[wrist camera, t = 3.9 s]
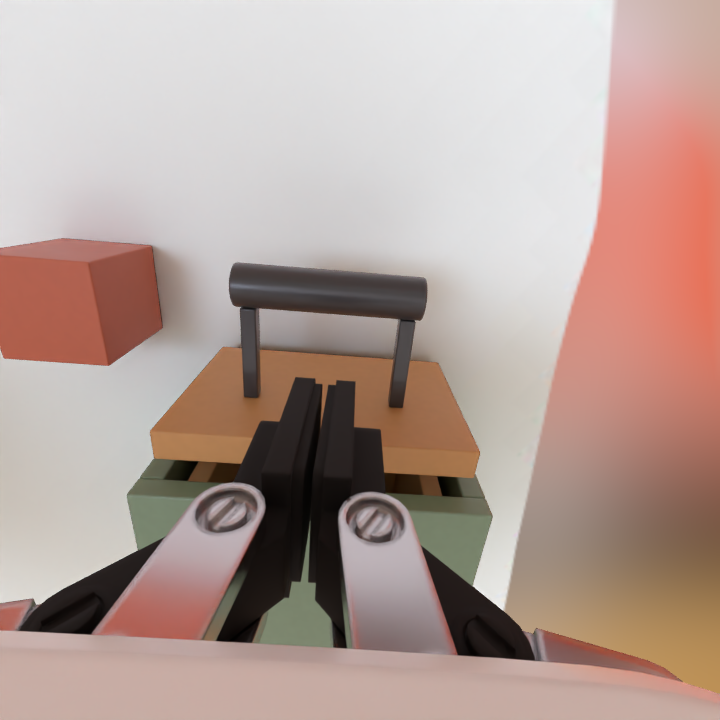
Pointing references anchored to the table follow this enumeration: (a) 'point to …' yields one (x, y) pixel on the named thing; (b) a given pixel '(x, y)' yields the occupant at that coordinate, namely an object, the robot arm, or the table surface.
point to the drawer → (322, 382)
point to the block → (76, 300)
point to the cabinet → (300, 611)
